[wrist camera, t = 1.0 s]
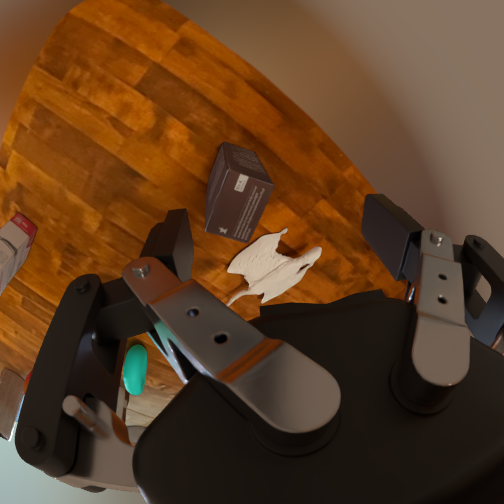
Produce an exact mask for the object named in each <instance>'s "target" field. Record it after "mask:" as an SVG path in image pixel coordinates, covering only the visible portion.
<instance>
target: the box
mask: <svg viewBox="0 0 504 504" xmlns="http://www.w3.org/2000/svg"><path fill="white" fill-rule="evenodd" d="M274 187H275V186H274V184H273V182H272V181H271V179H270V177H269V175H268V174H267V172H266V170H265V169H264V167H263V165H262V163H261V162H260V160H259V158H258V157H257V155H256V153H255V152H253V151H250V150H247V149H244V148H242V147H239V146H236V145H233V144H230V143H227V142H223V143H222V146H221V148H220V151H219V153H218V156H217V158H216V161H215V163H214V166H213V169H212V171H211V174H210V177H209V180H208V183H207V196H206V212H205V213H206V214H205V232H208V233H212V234H216V235H220V236H223V237H226V238H230V239H233V240H237V241H240V242H244V243H249V241H250V239H251V237H252V235H253V233H254V231H255V228H256V226H257V224H258V222H259V220H260V217H261V215H262V213H263V211H264V209H265V207H266V204H267V202H268V200H269V198H270V195H271V193H272V191H273V189H274Z"/></svg>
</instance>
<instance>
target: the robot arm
mask: <svg viewBox="0 0 504 504" xmlns="http://www.w3.org/2000/svg"><path fill="white" fill-rule="evenodd" d="M361 228H362V234H363V237H364V238H365V240H366V241H367V242H368V244H369V245H370V246H371V248H372V249H373V250H374V252H375V253H376V254H377V256H378V257H379V258H380V260H381V261H382V262H383V264H384V265H385V266H386V268H387V269H388V271H389V272H390V273H391V275H392V276H393V278H394V279H395V280H396V281H400V280H406V279H408V281H407V284H406V287H405V292H404V297H403V300H400V299H395V298H386V296H385V295H384V293H383V292H382V290H381V289H378V290H373V291H367V292H361V293H355V294H352V295H349V296H347V297H344V298H342V299H339V300H337V301H334V302H331V303H328V304H312V303H293V302H292V303H284V304H276V305H267V306H260V316H259V317H256V318H254V319H251V320H249V321H246V320H244V319H243V318H242V317H240V316H239V315H238V314H237V313H235V312H234V311H233V310H231V309H230V308H229V307H228V306H226V305H225V304H224V303H223V302H221V301H220V300H219V299H218V298H216V297H215V296H214V295H213V294H212V293H210V292H209V291H208V290H207V289H205V288H204V287H203V286H202V285H201V284H199V283H198V282H197V281H196V280H194V279H190V276H191V269H192V262H193V254H194V248H193V240H192V235H191V229H190V224H189V219H188V213H187V210H186V208H184V209H176V210H169V211H168V213H167V216H166V218H165V221H164V222H161V223H157V224H156V225H155V226H154V227H153V228H152V229H151V230H150V233H149V235H148V237H147V240H146V243H145V244H144V247H143V249H142V252H141V254H140V257H139V258H138V259H135V260H133V261H131V262H130V263H128V264H127V265H126V266H125V267H124V269H123V271H122V277H121V278H118V279H116V280H112V281H109V282H106V283H103V284H102V282H101V280H100V278H99V276H98V275H96V274H85V275H82V276H80V277H78V278H76V279H75V280H73V281H72V282H71V283H70V284H69V286H68V287H67V289H66V291H65V293H64V295H63V297H62V299H61V301H60V304H59V306H58V308H57V310H56V312H55V314H54V317H53V319H52V321H51V324H50V326H49V328H48V331H47V333H46V336H45V338H44V341H43V343H42V346H41V348H40V351H39V354H38V356H37V359H36V362H35V365H34V368H33V371H32V374H31V377H30V380H29V383H28V386H27V390H26V393H25V396H24V400H23V404H22V407H21V411H20V415H19V419H18V424H17V428H16V433H15V446H16V449H17V452H18V454H19V456H20V457H21V458H22V459H23V460H24V461H25V462H26V463H28V464H30V465H32V466H34V467H35V468H37V469H39V470H41V471H43V472H44V473H46V474H47V475H49V476H51V477H53V478H55V479H57V480H59V481H61V482H64V483H66V484H69V485H71V486H73V487H78V488H81V489H84V490H86V491H89V492H94V493H97V492H102V491H104V490H105V489H106V488H109V489H115V490H122V491H130V492H139V493H142V495H143V497H144V498H145V500H146V502H147V504H504V258H503V257H502V256H501V255H500V254H499V253H498V252H497V251H496V250H495V249H494V248H493V247H492V246H491V245H490V244H489V243H488V242H487V241H485V240H484V239H482V238H481V237H478V236H475V235H468V236H466V238H465V241H464V244H463V246H462V245H455V244H452V241H451V239H450V238H449V237H448V236H447V235H446V234H444V233H442V232H440V231H438V230H433V229H426V230H425V229H424V228H423V227H422V226H421V225H420V224H419V223H418V222H417V221H416V220H414V219H413V218H412V217H411V216H410V215H408V213H407V212H406V211H404V210H403V209H402V208H400V207H399V206H397V205H395V204H394V203H393V202H392V201H391V200H389V199H388V198H387V197H386V196H385V195H383V194H368V195H367V196H366V197H365V203H364V211H363V218H362V226H361ZM482 275H483V276H484V278H485V279H486V280H487V281H488V282H489V284H490V286H491V291H492V292H491V296H490V298H489V300H488V302H487V304H486V302H485V301H484V300H483V298H482V297H481V296H480V294H479V293H478V292H477V290H476V287H477V284H478V282H479V280H480V278H481V276H482ZM465 323H466V324H467V326H468V327H466V326H465ZM469 329H470V330H469ZM470 331H471V332H472V334H473V336H474V337H475V338H473V337H472V336H470ZM145 332H147V334H148V335H149V337H150V338H151V339H152V341H153V342H154V343H155V345H156V346H157V347H158V349H159V350H160V351H161V353H162V354H163V355H164V356H165V358H166V359H167V360H168V361H169V363H170V364H171V365H172V367H173V368H174V370H175V371H176V373H177V374H178V376H179V377H180V379H181V380H182V382H183V383H184V384H185V386H184V387H183V388H182V389H181V390H180V391H179V393H178V394H177V395H176V396H175V397H174V398H173V399H172V400H171V401H170V403H169V404H168V405H167V406H166V407H165V408H164V409H163V410H162V411H161V413H160V414H159V415H158V416H157V417H156V418H155V419H154V420H153V421H152V422H151V424H150V425H149V426H148V427H147V428H146V429H145V430H144V431H143V433H142V434H141V435H140V437H139V439H138V440H137V442H136V445H135V446H132V445H131V443H130V440H129V434H128V428H127V426H126V424H125V423H124V421H123V420H122V419H121V418H120V417H119V416H117V415H116V410H117V402H118V394H119V386H120V379H121V373H122V366H123V360H124V354H125V349H126V343H127V338H129V337H132V336H136V335H139V334H142V333H145Z"/></svg>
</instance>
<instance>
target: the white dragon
mask: <svg viewBox="0 0 504 504" xmlns="http://www.w3.org/2000/svg"><path fill="white" fill-rule="evenodd" d="M287 230H288V229H287V228H286V229H283V230H282V231H281V232H280V233H275V234H268V235H264V236H262V237H260V238H259V239H258V240H257V241H256V242H254V243H253V244H252V245H250V246H249V247H247V248H246V249H245V250H243V251H242V252H241V253H239V254H238V255H237V256H236V257H235V258H234V260H233V261H232V262H231V264H230V266H229V268H228V270H227V272H228V273H238V274H242V275H243V276H244V277H245V278H244V279H246V281H248V283H249V287H250V288H249V287H248V289H247V291H246V289H245V290H244V291H243V290H242V291H241V292H240V291H239V292H238V293H237V294H235V295H234V296H233V298H232V299H230V300H229V303H228V302H227V305H226V304H225V305H226V306H229V305H230V304H231V303H232V302H233V301H234V300H236V299H237V298H238V297H240V296H242V295H246V294H252V295H253V294H258V295H260V294H261V293H263V292H264V297H263V299H262V302H261V303H264V302H266V301H268V300H270V299H272V298H274V297H276V296H278V295H280V294H282V293H283V292H285V291H286V290H287V289H289V288H290V287H292V286H293V285H295V284H296V283H298V282H299V281H300V280H301V279H302V277H303V276H304V274H305V272H306V270H307V269H308V267H311V266H312V265H313V264H314V261H315V260H317V259H318V258H319V257H320V255H321V251H322V249H321V247H314V248H312V249H311V250H309V251H308V252H306V253H305V254H304V255H302V256H301V257H299V258H295V259H293V258H290V257H286V256H282V254H278V252H276V251H275V249H276V248H277V247H278V242H279V240H280V236H281V234H282V233H283V234H284V233H285V232H287ZM305 264H309V265H308V266H307V267H305V268H304V269H302V270H300V271H299V269H300V267H301V266H302V267H303V265H305ZM298 271H299V272H298ZM296 272H297V273H296Z"/></svg>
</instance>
